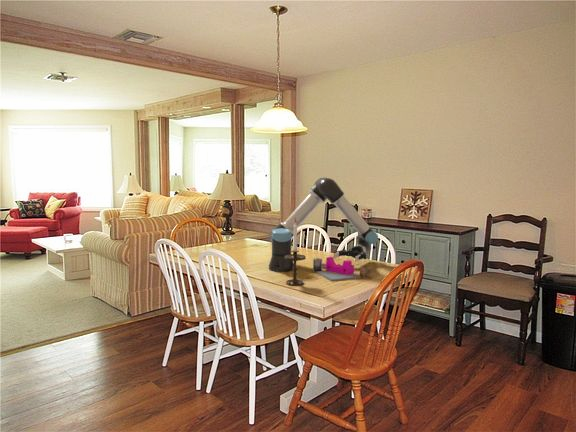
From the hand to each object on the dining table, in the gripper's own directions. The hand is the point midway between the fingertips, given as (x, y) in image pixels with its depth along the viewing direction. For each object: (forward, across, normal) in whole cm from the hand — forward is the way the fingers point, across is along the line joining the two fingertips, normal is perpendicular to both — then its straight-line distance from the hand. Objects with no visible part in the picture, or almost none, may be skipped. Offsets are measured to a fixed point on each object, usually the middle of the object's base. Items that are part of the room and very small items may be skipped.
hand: (344, 257), depth 241 cm
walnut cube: (+4, -14, -9) cm, 17 cm away
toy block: (+4, +1, -8) cm, 9 cm away
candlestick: (+36, +13, -9) cm, 39 cm away
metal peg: (+6, +15, -9) cm, 18 cm away
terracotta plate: (-6, +13, -9) cm, 17 cm away
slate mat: (+9, 0, -9) cm, 13 cm away
